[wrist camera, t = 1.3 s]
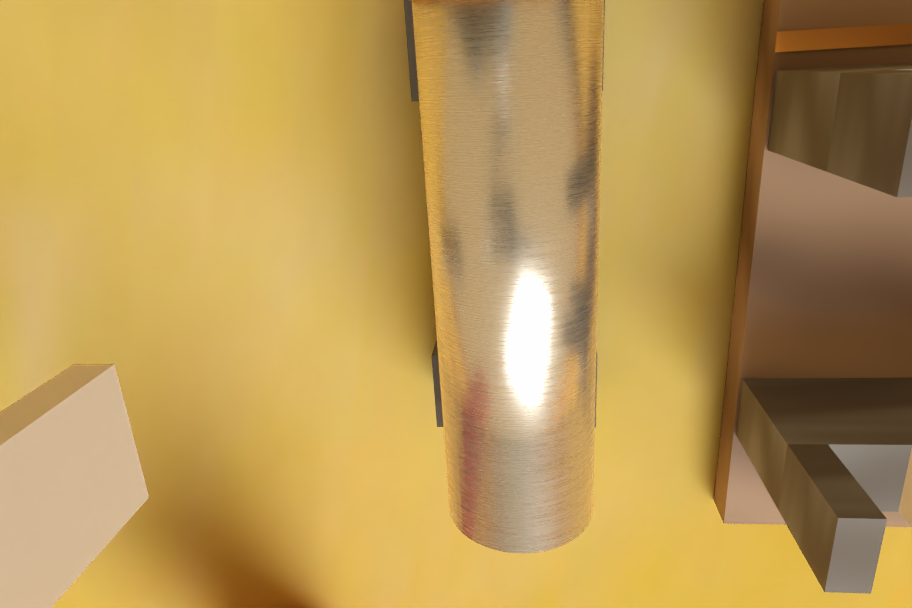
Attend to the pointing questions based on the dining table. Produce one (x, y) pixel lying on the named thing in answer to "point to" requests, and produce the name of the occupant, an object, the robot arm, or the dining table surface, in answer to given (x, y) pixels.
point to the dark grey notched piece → (824, 288)
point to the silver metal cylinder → (514, 257)
